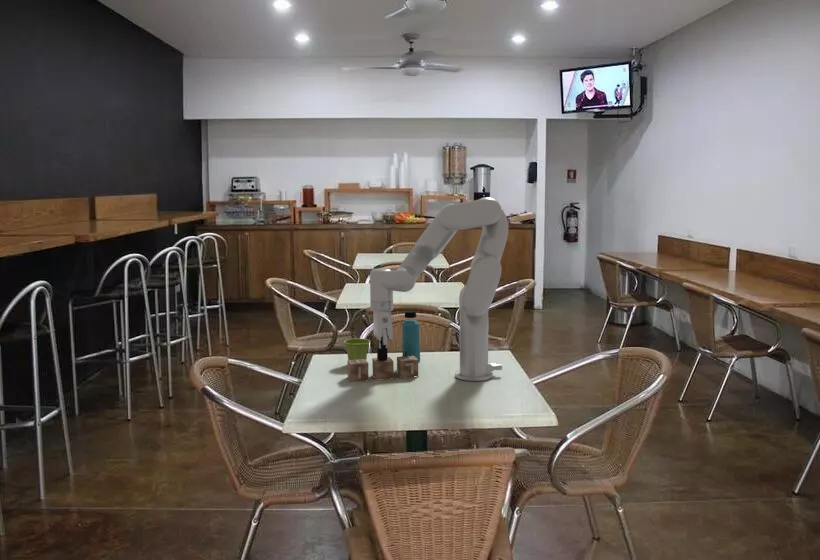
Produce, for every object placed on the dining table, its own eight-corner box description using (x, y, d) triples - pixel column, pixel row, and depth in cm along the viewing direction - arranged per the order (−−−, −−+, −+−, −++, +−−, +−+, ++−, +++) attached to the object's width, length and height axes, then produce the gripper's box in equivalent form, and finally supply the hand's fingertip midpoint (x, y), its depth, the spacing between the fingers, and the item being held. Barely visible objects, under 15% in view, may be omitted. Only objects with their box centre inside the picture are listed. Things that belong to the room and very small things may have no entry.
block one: (365, 376, 242) (365, 358, 241) (368, 380, 236) (368, 362, 235) (347, 377, 241) (347, 359, 240) (350, 382, 235) (350, 364, 234)
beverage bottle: (423, 365, 255) (423, 310, 252) (414, 369, 249) (413, 313, 247) (408, 363, 258) (407, 308, 256) (398, 367, 253) (397, 311, 250)
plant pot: (358, 360, 264) (358, 337, 263) (375, 364, 257) (375, 340, 256) (339, 364, 257) (338, 341, 256) (356, 369, 251) (356, 345, 250)
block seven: (414, 372, 246) (413, 355, 245) (418, 377, 240) (418, 359, 239) (397, 373, 245) (396, 356, 244) (401, 378, 239) (400, 360, 238)
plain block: (389, 374, 244) (389, 357, 243) (393, 378, 238) (393, 361, 237) (372, 375, 243) (372, 358, 242) (376, 380, 237) (375, 362, 236)
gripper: (397, 308, 231) (398, 364, 233) (388, 301, 245) (388, 353, 248) (374, 310, 229) (375, 365, 232) (366, 302, 243) (367, 355, 246)
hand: (382, 359), depth 240 cm, fingers closed
